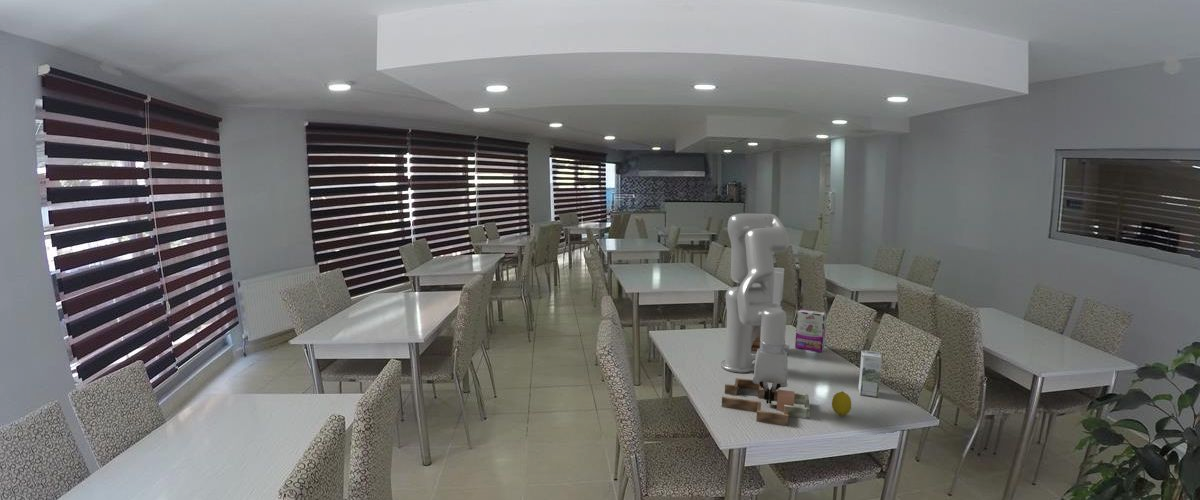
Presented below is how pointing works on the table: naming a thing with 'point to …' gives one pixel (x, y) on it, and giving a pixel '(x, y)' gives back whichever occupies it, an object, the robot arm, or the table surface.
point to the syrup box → (869, 373)
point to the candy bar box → (810, 330)
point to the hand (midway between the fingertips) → (768, 401)
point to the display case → (776, 299)
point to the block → (784, 399)
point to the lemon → (841, 403)
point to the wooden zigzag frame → (752, 389)
